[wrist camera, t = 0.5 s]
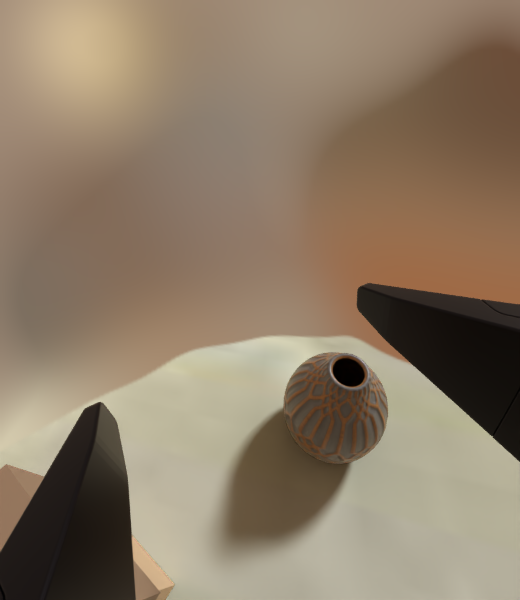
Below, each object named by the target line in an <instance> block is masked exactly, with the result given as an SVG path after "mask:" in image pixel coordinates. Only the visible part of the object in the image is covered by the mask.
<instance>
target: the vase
mask: <svg viewBox="0 0 520 600" xmlns="http://www.w3.org/2000/svg"><path fill="white" fill-rule="evenodd" d="M284 415H285V420H286V424H287V426H288V429H289V431H290V433H291V435H292V437H293V438H294V440H295V441H296V442H297V444H298V445H299V446H300V447H301V448H302V449H303V450H304V451H305V452H307V453H308V454H309V455H311V456H313V457H314V458H316V459H319V460H321V461H324V462H328V463H335V464H342V463H349V462H353V461H355V460H358V459H360V458H362V457H363V456H365V455H366V454H368V453H369V452H370V451H371V450H372V449H373V448H374V447H375V446H376V445H377V444H378V442H379V441H380V439H381V437H382V435H383V433H384V431H385V428H386V424H387V418H388V403H387V397H386V394H385V390H384V388H383V385H382V383H381V382H380V380H379V378H378V377H377V375H376V374H375V373H374V372H373V371H372V369H371V368H369V367H368V366H367V365H366V363H365V362H364V361H363V360H362V359H360V358H359V357H357V356H355V355H352V354H348V353H336V352H331V353H323V354H319V355H316V356H314V357H312V358H310V359H308V360H307V361H305V362H304V363H303V364H301V365H300V366H299V367H298V368H297V370H296V371H295V372H294V373H293V375H292V376H291V378H290V380H289V382H288V384H287V387H286V391H285V396H284Z"/></svg>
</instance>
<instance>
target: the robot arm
mask: <svg viewBox="0 0 520 600" xmlns="http://www.w3.org/2000/svg"><path fill="white" fill-rule="evenodd" d="M357 308H358V310H359V312H360V313H362V315H363V316H364V317H365V318H366V319H367V320H368V322H369V323H370V324H371V325H372V326H373V327H374V328H375V329H376V330H377V331H378V333H379V334H380V335H381V336H382V337H383V338H384V339H385V340H386V341H387V342H388V343H389V344H390V345H391V346H393V347H394V348H395V349H396V350H397V351H398V352H399V353H400V354H402V356H404V357H405V358H406V359H407V360H408V361H409V362H410V363H411V364H412V365H413V366H415V367H416V368H417V369H418V370H419V371H420V372H421V373H422V374H423V375H425V376H426V377H427V378H428V379H429V380H430V381H431V382H432V383H433V384H435V385H436V386H437V387H438V388H439V389H440V390H441V391H442V392H443V393H444V394H446V395H447V396H448V397H449V398H450V399H451V400H452V401H453V402H454V403H456V404H457V405H458V406H459V407H460V408H461V409H462V410H463V411H464V412H465V413H467V414H468V415H469V416H470V417H471V418H472V419H473V420H474V421H475V422H477V423H478V424H479V425H480V426H481V427H482V428H483V429H484V430H485V431H486V432H488V433H489V434H490V435H491V436H493V438H494V439H495V440H496V441H497V442H498V443H500V444H501V445H502V446H503V447H504V448H505V449H506V450H507V451H508V452H509V453H511V454H512V455H513V456H514V457H515V458H516V459H517V460H518V461H519V462H520V304H511V303H503V302H496V301H490V300H480V299H475V298H468V297H462V296H455V295H447V294H441V293H433V292H427V291H419V290H413V289H406V288H399V287H392V286H385V285H379V284H372V283H367V284H365V285H362V286H360V287H359V288H358V291H357ZM0 600H136V593H135V578H134V563H133V547H132V532H131V517H130V502H129V487H128V476H127V471H126V465H125V460H124V455H123V450H122V445H121V440H120V434H119V429H118V425H117V422H116V420H115V418H114V417H113V415H112V414H111V413H110V411H109V410H108V409H107V407H106V406H105V405H104V404H103V403H102V402H98V403H96V404H94V405H91V406H89V407H87V408H85V409H84V411H83V412H82V414H81V416H80V417H79V419H78V421H77V422H76V424H75V426H74V427H73V429H72V431H71V432H70V434H69V436H68V438H67V439H66V441H65V443H64V444H63V446H62V448H61V449H60V451H59V453H58V454H57V456H56V458H55V460H54V461H53V463H52V465H51V466H50V468H49V470H48V471H47V473H46V475H45V477H44V478H43V480H42V482H41V483H40V485H39V487H38V488H37V490H36V492H35V493H34V495H33V497H32V499H31V500H30V502H29V504H28V505H27V507H26V509H25V510H24V512H23V514H22V515H21V517H20V519H19V521H18V522H17V524H16V526H15V527H14V529H13V531H12V532H11V534H10V536H9V537H8V539H7V541H6V543H5V544H4V546H3V548H2V549H1V551H0Z"/></svg>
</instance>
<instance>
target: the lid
mask: <svg viewBox="0 0 520 600" xmlns="http://www.w3.org/2000/svg"><path fill="white" fill-rule="evenodd" d="M43 478H44V477H43V476H40V475H37V474H34V473H31V472H28V471H25V470H22V469H19V468H16V467H13V466H10V465H7V464H6V465H5V466H4V467H2V468H1V469H0V551H1V549H2V548H3V546H4V544H5V543H6V541H7V539H8V537H9V536H10V534H11V532H12V531H13V529H14V527H15V526H16V524H17V522H18V521H19V519H20V517H21V515H22V514H23V512H24V510H25V509H26V507H27V505H28V504H29V502H30V500H31V499H32V497H33V495H34V493H35V492H36V490H37V488H38V487H39V485H40V483H41V482H42V480H43ZM133 563H134V578H135V593H136V600H156V599H157V597H158V596H159V594H160V593H161V592H160V591H159V590H158V589H157V588H156V586H155V585H154V584H153V583H152V582H151V580H150V579H149V578H148V577H147V576H146V574H145V573H144V572H143V571H142V569H141V568H140V567H139V566H138V565H137V563H136V562H135V561H134V560H133Z"/></svg>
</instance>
